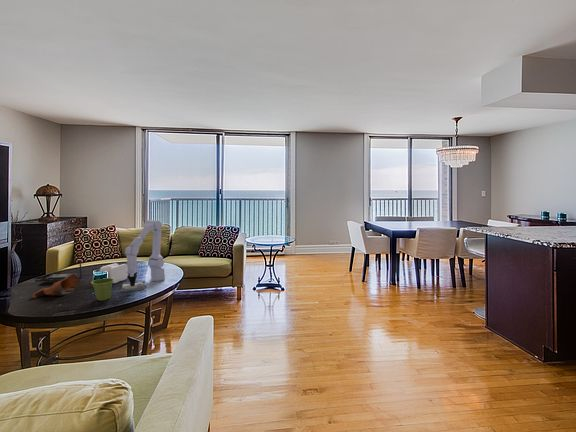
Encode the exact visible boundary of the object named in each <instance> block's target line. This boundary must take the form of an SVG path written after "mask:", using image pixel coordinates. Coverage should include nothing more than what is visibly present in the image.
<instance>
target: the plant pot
mask: <svg viewBox="0 0 576 432" xmlns="http://www.w3.org/2000/svg"><path fill="white" fill-rule="evenodd" d="M113 280H114V279H112V278H103V279H100V278H99V279H95V280H91V284H92V287H93V290H94V294H95V297H96V300H97V301H100V302H101V301H106V300H109V299H111V296H112V288H113V287H112V286H113V284H114V283H113Z"/></svg>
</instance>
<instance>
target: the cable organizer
mask: <svg viewBox="0 0 576 432" xmlns="http://www.w3.org/2000/svg"><path fill="white" fill-rule="evenodd" d="M102 271H107V272H108V278H112V279H114V280H113V283H112V284H116V283H119V282H123V281H125V280H126V279H128V278H127V276H129V274H128V273H126V271H128V268H127V263H123V264H119V263H118V262H117V263H111V264H108V265H104V266H101V267H100V268H99V273H100V272H102Z"/></svg>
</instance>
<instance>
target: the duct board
mask: <svg viewBox="0 0 576 432" xmlns="http://www.w3.org/2000/svg"><path fill="white" fill-rule="evenodd" d="M137 282H142V283H143V286H141V288H132V289H125V288H123V285H124V284H130V281H128V282H122V286H121V289H120V293H127V292H136V291H144V290H145V287H146V280H140V281H139V280H138V281H137V280H136V281H135V283H137Z"/></svg>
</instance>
